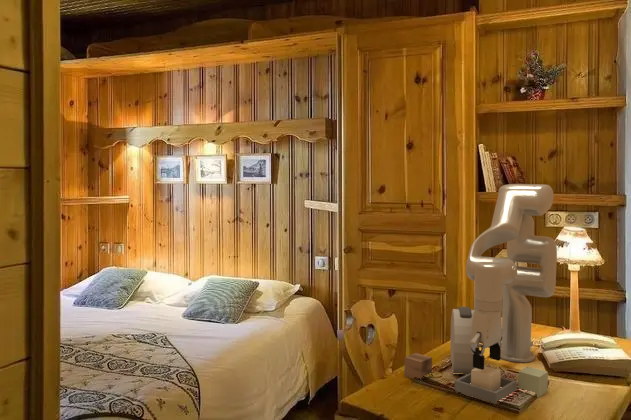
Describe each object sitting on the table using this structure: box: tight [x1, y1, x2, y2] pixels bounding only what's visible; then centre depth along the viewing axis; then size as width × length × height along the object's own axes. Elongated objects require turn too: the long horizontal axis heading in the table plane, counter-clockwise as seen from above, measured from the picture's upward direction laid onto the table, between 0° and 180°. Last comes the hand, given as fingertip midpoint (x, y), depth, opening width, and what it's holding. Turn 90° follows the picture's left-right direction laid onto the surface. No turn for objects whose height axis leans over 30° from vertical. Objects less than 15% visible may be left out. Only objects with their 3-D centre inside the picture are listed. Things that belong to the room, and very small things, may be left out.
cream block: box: [471, 365, 502, 392], centre depth 152 cm, size 6×6×6 cm
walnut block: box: [404, 352, 433, 380], centre depth 165 cm, size 6×6×6 cm
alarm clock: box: [449, 306, 480, 374], centre depth 172 cm, size 21×8×20 cm, turn 168°
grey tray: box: [454, 373, 518, 404], centre depth 152 cm, size 13×13×4 cm
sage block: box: [517, 366, 549, 399], centre depth 153 cm, size 6×6×6 cm
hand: (486, 363), depth 152 cm, fingers open, 9 cm apart
